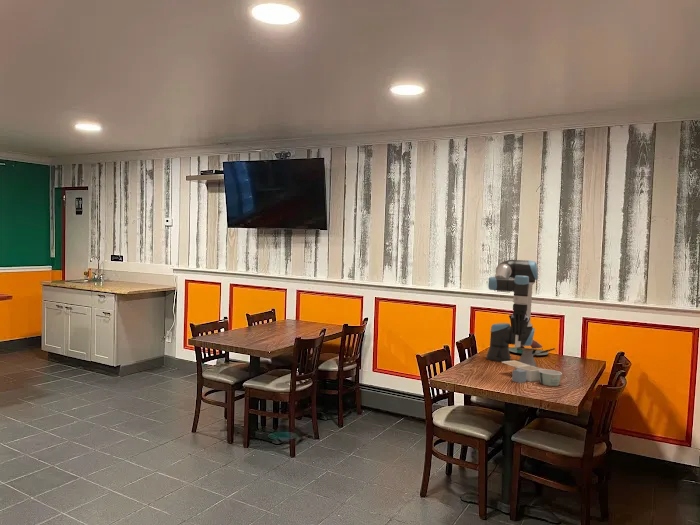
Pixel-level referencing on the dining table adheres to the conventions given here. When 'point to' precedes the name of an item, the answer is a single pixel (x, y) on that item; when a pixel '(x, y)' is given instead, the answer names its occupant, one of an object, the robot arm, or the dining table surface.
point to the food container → (550, 377)
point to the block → (519, 376)
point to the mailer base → (531, 373)
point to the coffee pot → (530, 356)
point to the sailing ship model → (534, 345)
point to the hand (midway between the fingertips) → (517, 346)
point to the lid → (514, 363)
